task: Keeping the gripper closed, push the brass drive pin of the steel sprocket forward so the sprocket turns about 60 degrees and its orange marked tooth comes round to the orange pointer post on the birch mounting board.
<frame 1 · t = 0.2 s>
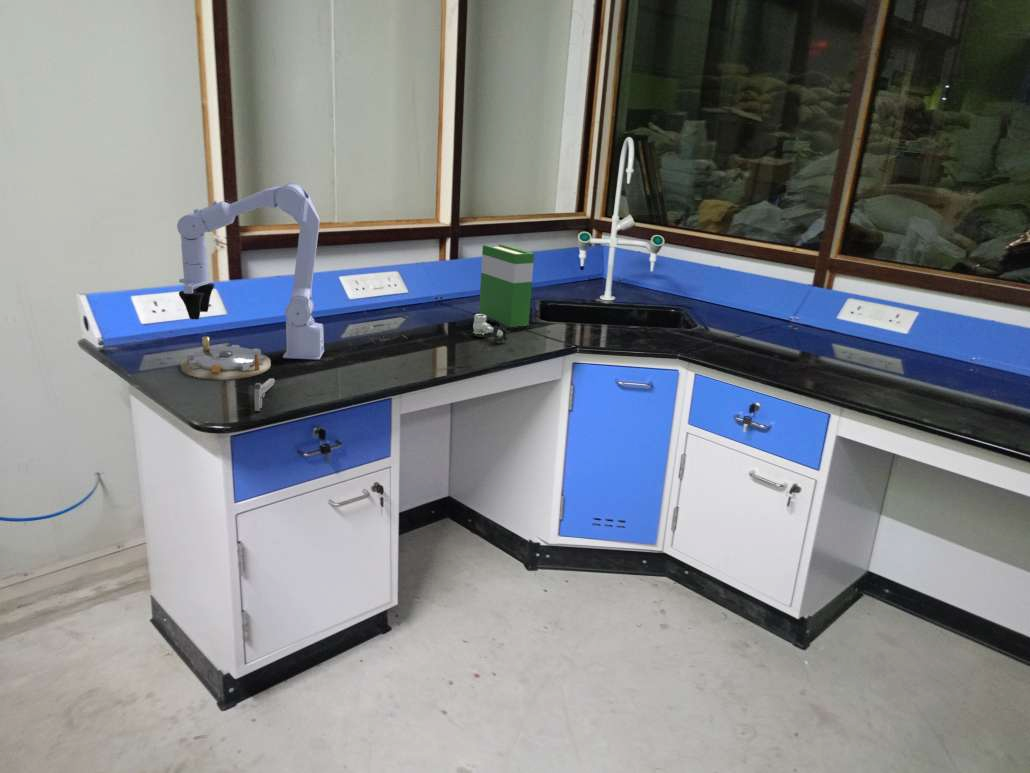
hand: (199, 315, 196), 10 cm above the worktop, tool pointing down, fingers open, 7 cm apart
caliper: (265, 397, 173), on the worktop
valve: (487, 340, 231), on the worktop
hardback book: (503, 322, 252), on the worktop
mounting board: (226, 366, 190), on the worktop
sprocket: (225, 351, 189), point 4 cm above the worktop, hinge at 0.0°
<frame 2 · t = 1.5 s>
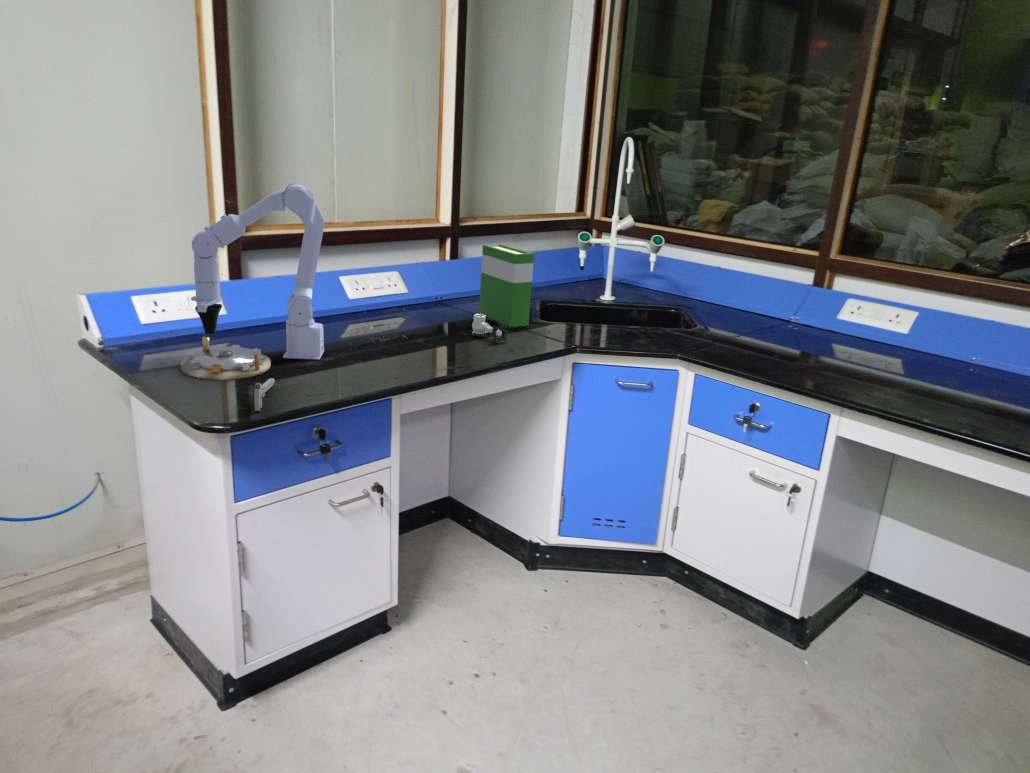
hand: (210, 333, 195), 6 cm above the worktop, tool pointing down, fingers closed
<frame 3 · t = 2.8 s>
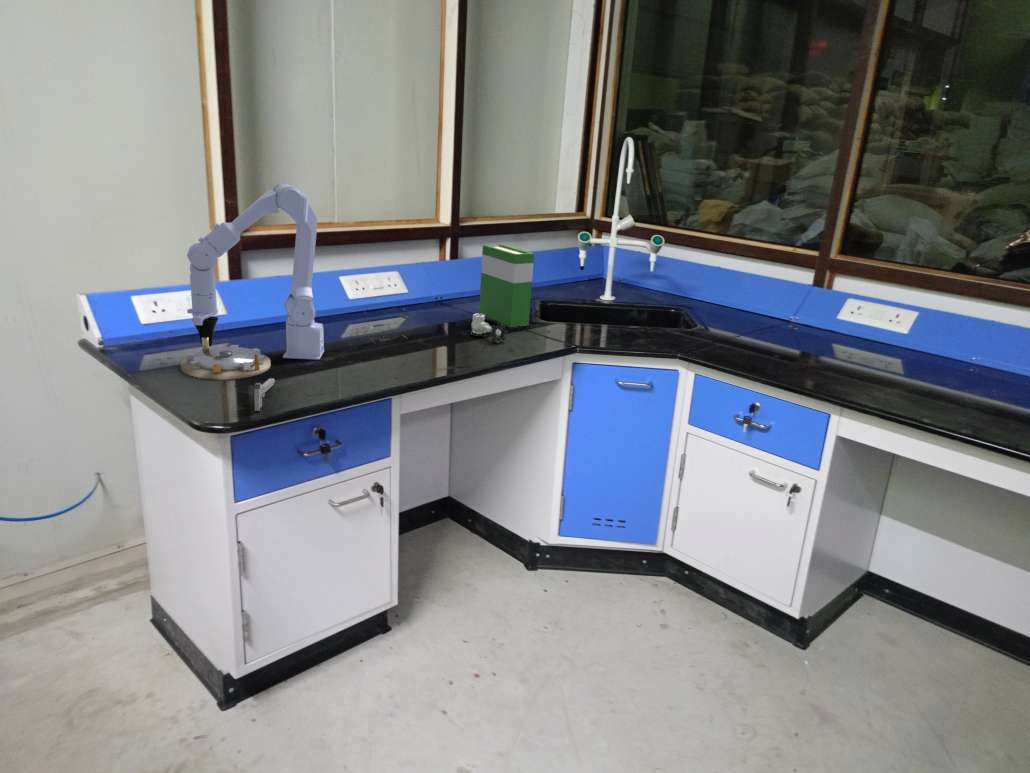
hand: (206, 345, 192), 4 cm above the worktop, tool pointing down, fingers closed, pressing on sprocket
sprocket: (225, 351, 189), point 4 cm above the worktop, hinge at 1.9°, touching gripper
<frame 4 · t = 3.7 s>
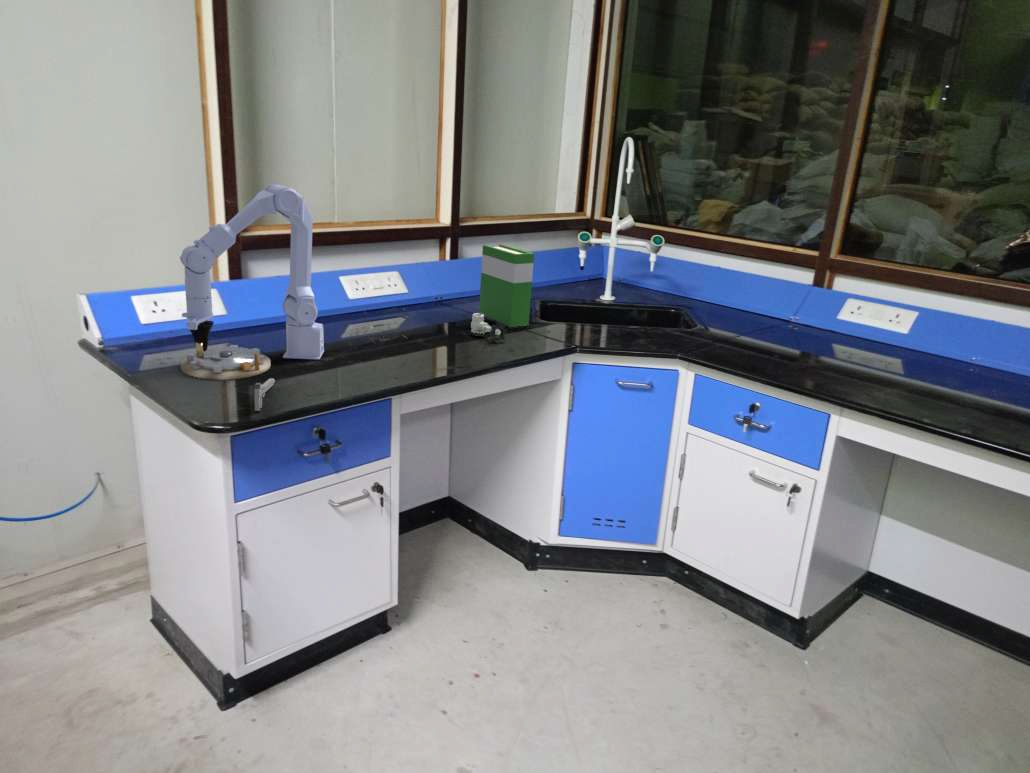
hand: (201, 350, 188), 4 cm above the worktop, tool pointing down, fingers closed, pressing on sprocket
sprocket: (225, 351, 189), point 4 cm above the worktop, hinge at 47.8°, touching gripper
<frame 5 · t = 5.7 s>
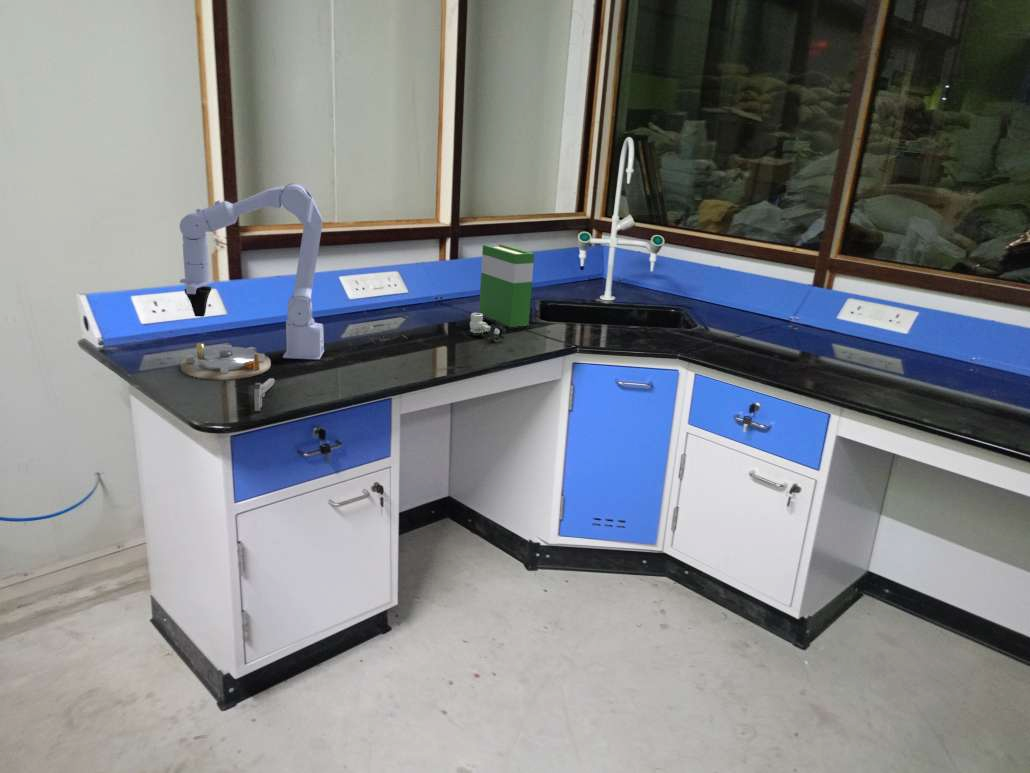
hand: (199, 315, 194), 10 cm above the worktop, tool pointing down, fingers closed
sprocket: (225, 351, 189), point 4 cm above the worktop, hinge at 57.7°
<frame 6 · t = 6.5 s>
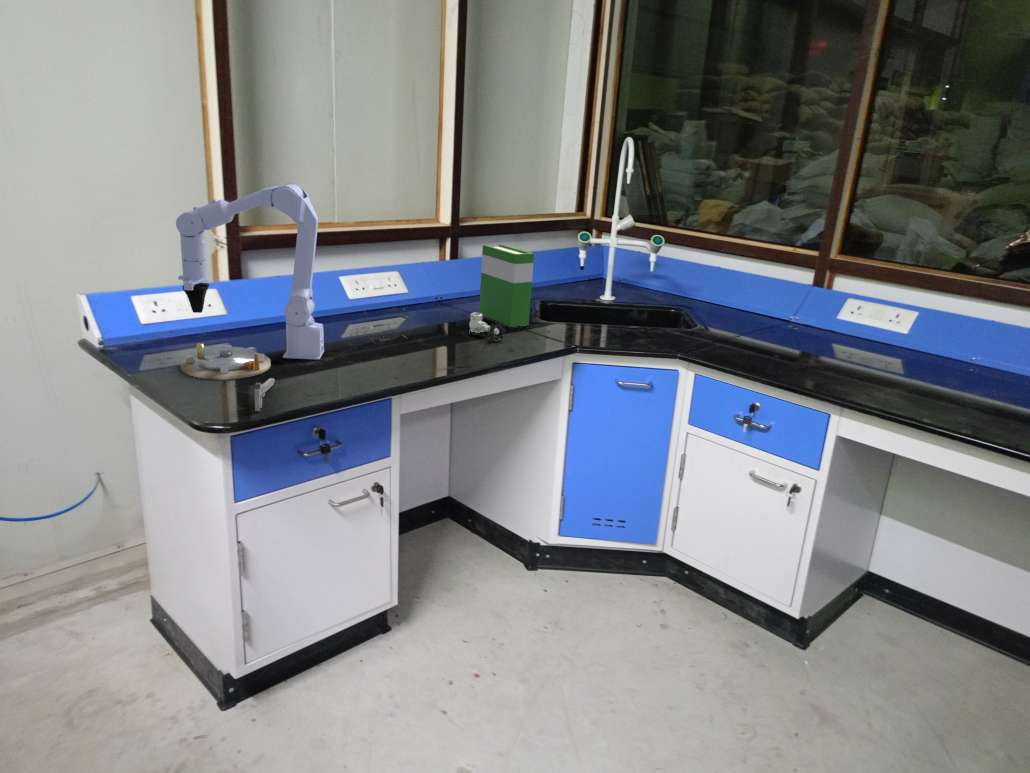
hand: (197, 312, 197), 10 cm above the worktop, tool pointing down, fingers closed
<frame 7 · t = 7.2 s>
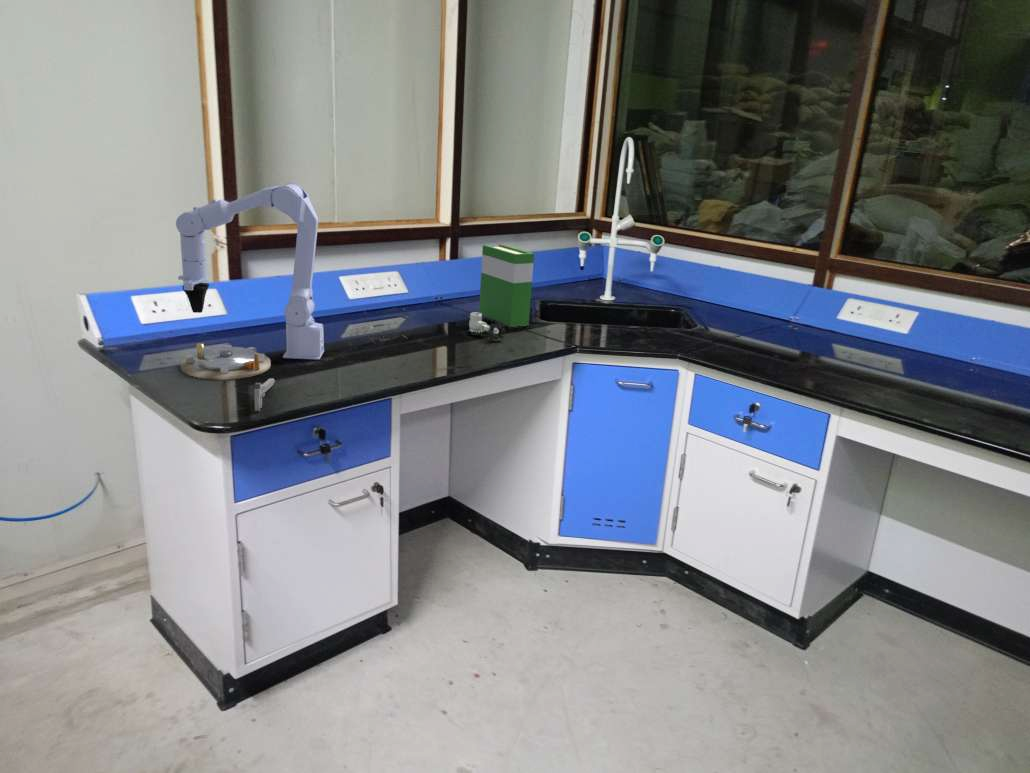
hand: (197, 312, 197), 10 cm above the worktop, tool pointing down, fingers closed
at the end: sprocket at +58° (first picture: +0°) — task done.
